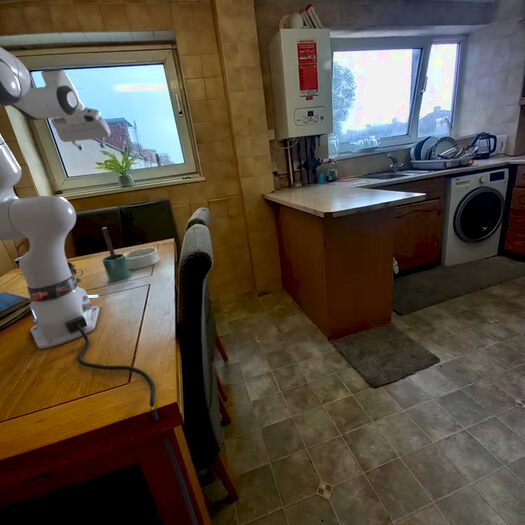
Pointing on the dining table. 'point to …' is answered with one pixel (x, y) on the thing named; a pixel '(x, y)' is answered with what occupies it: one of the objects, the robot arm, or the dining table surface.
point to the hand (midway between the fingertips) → (92, 148)
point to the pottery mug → (71, 267)
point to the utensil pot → (116, 268)
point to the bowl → (141, 257)
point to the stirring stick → (109, 243)
